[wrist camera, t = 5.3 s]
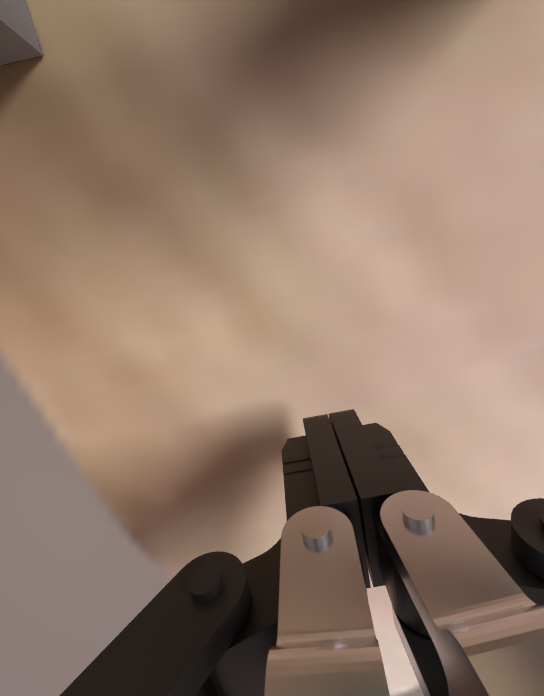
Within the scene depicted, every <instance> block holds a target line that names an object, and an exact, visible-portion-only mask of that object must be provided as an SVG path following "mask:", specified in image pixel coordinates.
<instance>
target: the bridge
mask: <svg viewBox="0 0 544 696" xmlns="http://www.w3.org/2000/svg"><path fill="white" fill-rule="evenodd" d="M39 56H43V53H42V49H41V46H40V43H39V40H38V37H37V34H36V31H35V28H34V25H33V22H32V19H31V15H30V12H29V9H28V6H27V3H26V0H0V65H5V64H9V63H13V62H18V61H22V60H26V59H30V58H35V57H39Z"/></svg>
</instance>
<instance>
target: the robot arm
mask: <svg viewBox="0 0 544 696" xmlns="http://www.w3.org/2000/svg"><path fill="white" fill-rule="evenodd" d="M303 423H304V428H305V434H306V436H301V437H295V438H290V439H288V440H287V442H286V444H285V445H284V447H283V449H282V462H283V474H284V488H285V501H286V514H287V522H286V524H285V526H284V528H283V530H282V535H281V538H280V540H279V541H278V542H277V543H276V544H275V545H274V546H273V547H272V548H271V549H269V550H268V551H267V552H265V553H263V554H261V555H260V556H257V557H255V558H253V559H251V560H249V561H247V562H245V563H243V564H242V562H241V561H240V560H239V559H238V558H237V557H236V556H234V555H232V554H230V553H227V552H211V553H207V554H204V555H201V556H199V557H197V558H195V559H194V560H192V561H191V562H189V563H188V564H187V565H186V566H185V567H184V568H182V569H181V570H180V571H179V573H178V574H177V575H176V576H175V577H174V578H173V579H172V580H171V581H170V582H169V583H168V584H167V585H166V586H165V587H164V588H163V589H162V590H161V591H160V592H159V593H158V594H157V595H156V597H154V598H153V599H152V601H151V602H150V603H149V604H148V605H147V606H146V607H145V608H144V609H143V610H142V611H141V612H140V613H139V614H138V615H137V616H136V617H135V618H134V619H133V620H132V621H131V622H130V623H129V624H128V625H127V626H126V627H125V629H124V630H123V631H122V632H121V633H120V634H119V635H118V636H117V637H116V638H115V639H114V640H113V641H112V642H111V643H110V644H109V645H108V646H107V647H106V648H105V649H104V650H103V651H102V652H101V653H100V654H99V655H98V657H97V658H96V659H95V660H94V661H93V662H92V663H91V664H90V665H89V666H88V667H87V668H86V669H85V670H84V671H83V672H82V673H81V674H80V675H79V676H78V677H77V678H76V679H75V680H74V681H73V682H72V683H71V685H70V686H69V687H68V688H67V689H66V690H65V691H64V692H63V693H62V694H61V695H60V696H390V695H389V690H388V685H387V680H386V676H385V671H384V666H383V662H382V657H381V652H380V648H379V644H378V640H377V639H376V636H375V631H374V627H373V622H372V617H371V612H370V607H369V603H368V596H367V590H366V588H371V587H370V580H369V574H370V577H371V580H372V583H373V587H377V586H383V585H386V588H387V591H388V594H389V597H390V600H391V602H392V610H393V618H394V623H395V626H396V629H397V631H398V634H399V636H400V639H401V641H402V643H403V646H404V648H405V651H406V653H407V656H408V658H409V660H410V663H411V665H412V668H413V670H414V673H415V675H416V677H417V680H418V682H419V685H420V687H421V689H422V692H423V694H424V696H544V499H542V498H539V499H530V500H526V501H523V502H521V503H519V504H518V505H516V507H515V508H514V509H513V511H512V513H511V521H510V520H499V519H487V518H477V517H471V516H467V515H463V514H460V513H458V512H457V511H456V510H455V509H454V507H453V506H452V505H451V504H450V503H449V502H447V501H446V500H445V499H443V498H441V497H440V496H437V495H435V494H433V493H430V492H429V491H428V489H427V488H426V486H425V485H424V483H423V482H422V480H421V478H420V477H419V475H418V474H417V472H416V471H415V469H414V468H413V466H412V465H411V463H410V462H409V460H408V459H407V457H406V455H404V453H403V451H402V449H401V448H400V446H399V445H398V444H397V442H396V440H395V439H394V437H393V436H392V434H391V432H390V431H389V430H387V429H385V428H384V427H382V426H381V425H379V424H377V423H372V424H366V425H362V424H361V422H360V420H359V418H358V416H357V414H356V412H355V411H354V409H352V410H346V411H341V412H336V413H330V414H329V418H328V415H327V414H325V415H320V416H314V417H309V418H303ZM368 571H369V574H368Z"/></svg>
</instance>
